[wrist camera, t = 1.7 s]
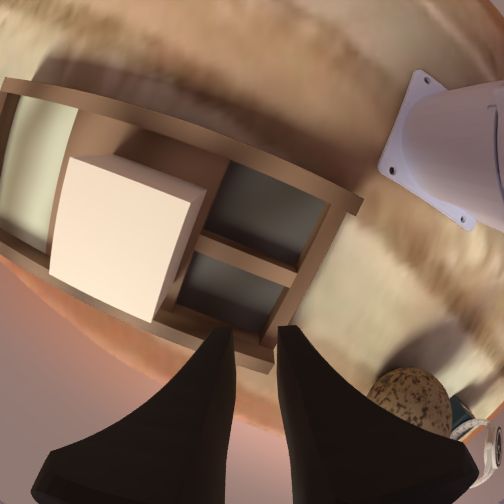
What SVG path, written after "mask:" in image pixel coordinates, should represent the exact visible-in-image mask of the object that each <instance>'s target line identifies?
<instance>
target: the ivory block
mask: <svg viewBox="0 0 504 504" xmlns="http://www.w3.org/2000/svg"><path fill="white" fill-rule="evenodd" d="M207 190H208V189H205V188H202V187H200V186H197V185H195V184H192V183H190V182H187V181H185V180H182V179H179V178H177V177H174V176H172V175H169V174H166V173H164V172H161V171H158V170H156V169H153V168H150V167H148V166H145V165H142V164H139V163H137V162H134V161H131V160H128V159H126V158H123V157H120V156H117V155H114V154H102V155H87V156H74V157H70V159H69V162H68V166H67V170H66V174H65V178H64V182H63V187H62V191H61V196H60V201H59V206H58V211H57V217H56V223H55V229H54V235H53V243H52V250H51V259H50V269H49V274H50V275H52V276H54V277H56V278H57V279H59V280H61V281H63V282H65V283H67V284H69V285H71V286H73V287H74V288H76V289H78V290H80V291H82V292H84V293H86V294H88V295H90V296H92V297H94V298H96V299H98V300H101V301H103V302H105V303H107V304H109V305H111V306H113V307H115V308H117V309H120V310H122V311H124V312H126V313H129V314H131V315H133V316H135V317H138V318H140V319H142V320H144V321H147V322H149V323H151V322H152V320H153V319H154V317H155V315H156V313H157V311H158V309H159V308H160V306H161V304H162V302H163V301H164V299H165V297H166V295H167V293H168V292H169V290H170V288H171V286H172V285H173V282H174V279H175V276H176V273H177V271H178V268H179V265H180V262H181V259H182V256H183V253H184V251H185V248H186V245H187V242H188V239H189V237H190V234H191V231H192V229H193V226H194V223H195V221H196V218H197V215H198V213H199V210H200V207H201V205H202V202H203V200H204V197H205V195H206V192H207Z"/></svg>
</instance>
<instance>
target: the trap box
mask: <svg viewBox="0 0 504 504" xmlns="http://www.w3.org/2000/svg"><path fill="white" fill-rule="evenodd" d="M102 154H114V155H117V156H120V157H123V158H126V159H128V160H131V161H134V162H137V163H139V164H142V165H145V166H148V167H150V168H153V169H156V170H158V171H161V172H164V173H166V174H169V175H172V176H174V177H177V178H179V179H182V180H185V181H187V182H190V183H192V184H195V185H197V186H200V187H202V188H205V189H208V190H207V192H206V195H205V197H204V200H203V202H202V205H201V207H200V210H199V213H198V215H197V218H196V221H195V223H194V226H193V229H192V231H191V234H190V237H189V239H188V242H187V245H186V248H185V251H184V253H183V256H182V259H181V262H180V265H179V268H178V271H177V273H176V276H175V279H174V282H173V285H172V286H171V288H170V290H169V292H168V293H167V295H166V297H165V299H164V301H163V302H162V304H161V306H160V308H159V309H158V311H157V313H156V315H155V317H154V319H153V320H152V322H151V323H149V322H147V321H144V320H142V319H140V318H138V317H135V316H133V315H131V314H129V313H126V312H124V311H122V310H120V309H117V308H115V307H113V306H111V305H109V304H107V303H105V302H103V301H101V300H98V299H96V298H94V297H92V296H90V295H88V294H86V293H84V292H82V291H80V290H78V289H76V288H74V287H73V286H71V285H69V284H67V283H65V282H63V281H61V280H59V279H57V278H56V277H54V276H52V275H50V274H49V269H50V259H51V250H52V243H53V235H54V229H55V223H56V217H57V211H58V206H59V201H60V196H61V191H62V187H63V182H64V178H65V174H66V170H67V166H68V162H69V159H70V157H74V156H87V155H102ZM363 200H364V199H363V198H361V197H359V196H358V195H356V194H354V193H352V192H350V191H348V190H346V189H344V188H342V187H340V186H338V185H336V184H334V183H332V182H330V181H328V180H326V179H324V178H322V177H320V176H318V175H316V174H314V173H312V172H309V171H307V170H305V169H303V168H301V167H299V166H297V165H294V164H292V163H290V162H288V161H285V160H283V159H281V158H279V157H276V156H274V155H272V154H269V153H267V152H265V151H262V150H260V149H258V148H255V147H253V146H250V145H248V144H245V143H243V142H241V141H238V140H235V139H233V138H230V137H228V136H225V135H223V134H220V133H217V132H215V131H212V130H209V129H207V128H204V127H201V126H198V125H195V124H193V123H190V122H187V121H184V120H181V119H178V118H175V117H172V116H169V115H166V114H163V113H160V112H156V111H153V110H150V109H147V108H143V107H140V106H137V105H133V104H130V103H126V102H123V101H119V100H115V99H112V98H108V97H104V96H100V95H96V94H92V93H88V92H83V91H79V90H75V89H70V88H65V87H60V86H55V85H50V84H45V83H39V82H34V81H28V80H21V79H14V78H7V77H5V79H4V81H3V84H2V87H1V90H0V254H1V255H3V256H4V257H6V258H7V259H9V260H10V261H12V262H14V263H15V264H17V265H18V266H20V267H22V268H23V269H25V270H27V271H28V272H30V273H32V274H33V275H35V276H37V277H38V278H40V279H42V280H44V281H45V282H47V283H49V284H51V285H52V286H54V287H56V288H58V289H60V290H62V291H63V292H65V293H67V294H69V295H71V296H73V297H75V298H77V299H79V300H81V301H82V302H84V303H86V304H88V305H90V306H92V307H94V308H96V309H99V310H101V311H103V312H105V313H107V314H109V315H111V316H113V317H115V318H117V319H120V320H122V321H124V322H126V323H128V324H131V325H133V326H135V327H138V328H140V329H142V330H144V331H147V332H149V333H152V334H154V335H156V336H159V337H161V338H164V339H166V340H169V341H171V342H174V343H176V344H179V345H181V346H184V347H187V348H189V349H192V350H195V351H196V350H197V349H198V348H199V346H200V345H201V344H202V342H203V341H204V340H205V338H206V337H207V335H208V334H209V332H210V331H211V330H212V329H213V328H214V327H233V339H234V352H235V364H236V365H238V366H241V367H245V368H248V369H251V370H254V371H258V372H261V373H264V374H269V372H270V370H271V369H272V367H273V366H274V364H275V363H274V352H273V349H274V347H275V346H276V344H277V336H278V326H287V325H288V323H289V321H290V320H291V318H292V316H293V314H294V312H295V311H296V309H297V307H298V305H299V303H300V302H301V300H302V298H303V296H304V294H305V293H306V291H307V289H308V287H309V285H310V283H311V281H312V279H313V278H314V276H315V274H316V272H317V270H318V268H319V266H320V264H321V262H322V260H323V258H324V257H325V255H326V253H327V251H328V249H329V247H330V245H331V243H332V241H333V239H334V237H335V235H336V233H337V231H338V229H339V227H340V225H341V223H342V220H343V218H344V216H345V214H346V212H348V213H350V214H352V215H354V216H356V215H357V213H358V211H359V209H360V207H361V205H362V202H363Z"/></svg>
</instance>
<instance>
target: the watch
mask: <svg viewBox="0 0 504 504" xmlns="http://www.w3.org/2000/svg"><path fill="white" fill-rule="evenodd" d="M449 400H450V404H451V409H452V430H451V435H450V439H453V440H457V441H458V440H459V439H460V438H461V437H463V436H464V435H465V434H466V433H467V432H469V431H470V430H471V429H472V428H473V427H474V426H476V425H477V426H478V425H482V424H483V425H486V426H487V428H488V432H487V435H486V438H485V444H484V463H485V470H484V474H485V475H483V476H482V477H481V479H479V480H477V481H475V482H474V484H473V485H472V486H471V487H470V488H473V487H476V486H478V485H480V484H482V483H483V482H485V481H486V480H487V479H488V478H489V477H491V476H492V474H493V473H494V471H495V469H497V468H499V466H500V463H501V459H502V452H503V438H502V431H501V428H500V426H497V427H495V426H494V424H492V422H490V421H488V420H485V419H476V418H475V417H474V415H473V414H472V412H471V411H470V409H469V408H468V407H467V406H466V405H465V404H464V403H463V402H462V401H461V400H460V399H459V398H457V397H456V396H455V395H453V396H452V397H451V398H450V399H449Z"/></svg>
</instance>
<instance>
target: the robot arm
mask: <svg viewBox="0 0 504 504" xmlns="http://www.w3.org/2000/svg"><path fill="white" fill-rule="evenodd" d="M424 78H426V80H427V81H428V84H427V83H426V82H425V80H424ZM391 167H393V169H394V173H393V174H390V172H389V170H390V168H391ZM377 169H378V171H379V172H380V173H381V174H382V175H384V176H386V177H387V178H389V179H391V180H392V181H394V182H396V183H397V184H399V185H401V186H402V187H404V188H405V189H407V190H409V191H410V192H412V193H413V194H415V195H416V196H418V197H419V198H421V199H422V200H424V201H425V202H427V203H428V204H430V205H431V206H433V207H434V208H436V209H437V210H439V211H440V212H441V213H443V214H444V215H446V216H447V217H448V218H450V219H451V220H453V221H454V222H455V223H457V224H458V225H459V226H461V227H462V228H463V229H465V230H466V231H469V232H471V231H472V230H473V229H474V227H475V225H476V222H477V221H478V222H480V223H483V224H485V225H487V226H490V227H492V228H494V229H497V230H499V231H501V232H503V233H504V80H501V81H494V82H489V83H483V84H478V85H473V86H468V87H463V88H458V89H454V90H447V89H446V88H445V87H444V86H443V85H441V84H440V83H439V82H437V81H436V80H435V79H434V78H432V77H431V76H430V75H428V74H427V73H426V72H424V71H423V70H421V69H418V70H416V71H414V72H413V75H412V78H411V81H410V83H409V86H408V89H407V92H406V94H405V97H404V100H403V102H402V105H401V108H400V110H399V113H398V115H397V118H396V120H395V123H394V125H393V128H392V130H391V133H390V135H389V138H388V140H387V143H386V145H385V147H384V150H383V152H382V154H381V157H380V159H379V161H378V164H377ZM462 216H463V219H462V221H461V217H462ZM277 385H278V398H279V404H280V409H281V414H282V419H283V424H284V430H285V435H286V440H287V444H288V449H289V456H290V464H291V477H292V492H293V504H452V503H453V502H455V501H456V500H457V499H458V498H459V497H460V496H461V495H462V494H464V493H465V492H466V491H467V490H468V489H469V488H470V487H471V486H472V485H473V484H474V482H475V481H476V479H477V478H478V475H479V470H478V468H477V466H476V464H475V462H474V460H473V458H472V456H471V454H470V453H469V451H468V449H467V448H466V446H465V445H464V443H463V442H460V441H457V440H453V439H450V438H447V437H444V436H441V435H438V434H435V433H432V432H430V431H427V430H425V429H422V428H420V427H418V426H416V425H414V424H411V423H409V422H407V421H405V420H403V419H401V418H399V417H397V416H396V415H394V414H392V413H391V412H389V411H387V410H386V409H384V408H382V407H381V406H379V405H377V404H376V403H374V402H373V401H371V400H370V399H368V398H367V397H366V396H364V395H363V394H362V393H360V392H359V391H358V390H356V389H355V388H354V387H353V386H352V385H351V384H349V383H348V382H347V381H346V380H345V379H344V378H343V377H342V376H341V375H340V374H338V373H337V372H336V371H335V370H334V369H333V368H332V367H331V366H330V365H329V363H328V362H327V361H326V360H325V359H324V358H323V357H322V356H321V355H320V354H319V352H318V351H317V350H316V349H315V348H314V346H313V345H312V344H311V343H310V342H309V340H308V339H307V338H306V336H305V335H304V334H303V332H302V331H301V330H300V328H299V327H298V326H297V325H291V326H278V336H277ZM235 399H236V364H235V352H234V339H233V327H214V328H213V329H212V330H211V331H210V332H209V334H208V335H207V337H206V338H205V340H204V341H203V342H202V344H201V345H200V346H199V348H198V349H197V350H196V352H195V353H194V354H193V355H192V357H191V358H190V359H189V360H188V361H187V363H186V364H185V365H184V366H183V367H182V368H181V369H180V370H179V372H178V373H177V374H176V375H175V376H174V377H173V378H172V379H171V380H170V381H169V382H168V383H167V384H166V385H165V386H164V387H163V388H162V389H161V390H160V391H159V392H157V393H156V394H155V395H154V396H153V397H151V398H150V399H149V400H148V401H147V402H145V403H144V404H143V405H141V406H140V407H139V408H137V409H136V410H134V411H133V412H132V413H130V414H129V415H127V416H126V417H124V418H123V419H121V420H120V421H118V422H116V423H115V424H113V425H111V426H109V427H107V428H106V429H104V430H102V431H100V432H98V433H96V434H94V435H92V436H90V437H87V438H85V439H83V440H80V441H78V442H75V443H73V444H70V445H68V446H65V447H62V448H59V449H56V450H53V451H51V452H50V453H49V455H48V457H47V459H46V460H45V462H44V464H43V466H42V468H41V470H40V472H39V474H38V476H37V478H36V480H35V483H34V485H33V487H32V489H31V495H32V497H33V498H34V499H35V501H36V502H37V503H39V504H225V476H226V459H227V450H228V444H229V438H230V431H231V425H232V419H233V412H234V406H235ZM0 504H6V503H4V502H3V501H1V500H0ZM496 504H504V499H503V500H501V501H500V502H498V503H496Z"/></svg>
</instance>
